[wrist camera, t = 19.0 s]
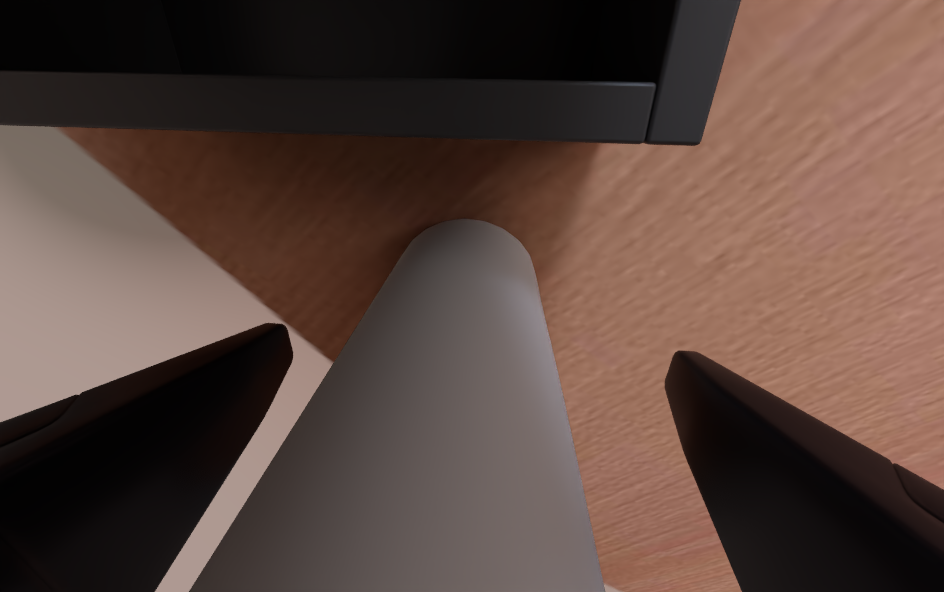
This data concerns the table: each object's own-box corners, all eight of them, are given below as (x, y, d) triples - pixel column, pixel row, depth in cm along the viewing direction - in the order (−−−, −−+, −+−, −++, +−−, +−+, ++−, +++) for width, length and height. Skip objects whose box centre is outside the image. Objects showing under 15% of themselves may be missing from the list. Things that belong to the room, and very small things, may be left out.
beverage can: (493, 184, 11) (407, 1232, 1) (560, 303, 13) (799, 1115, 3) (373, 256, 13) (-216, 985, 2) (448, 354, 15) (314, 1015, 4)
